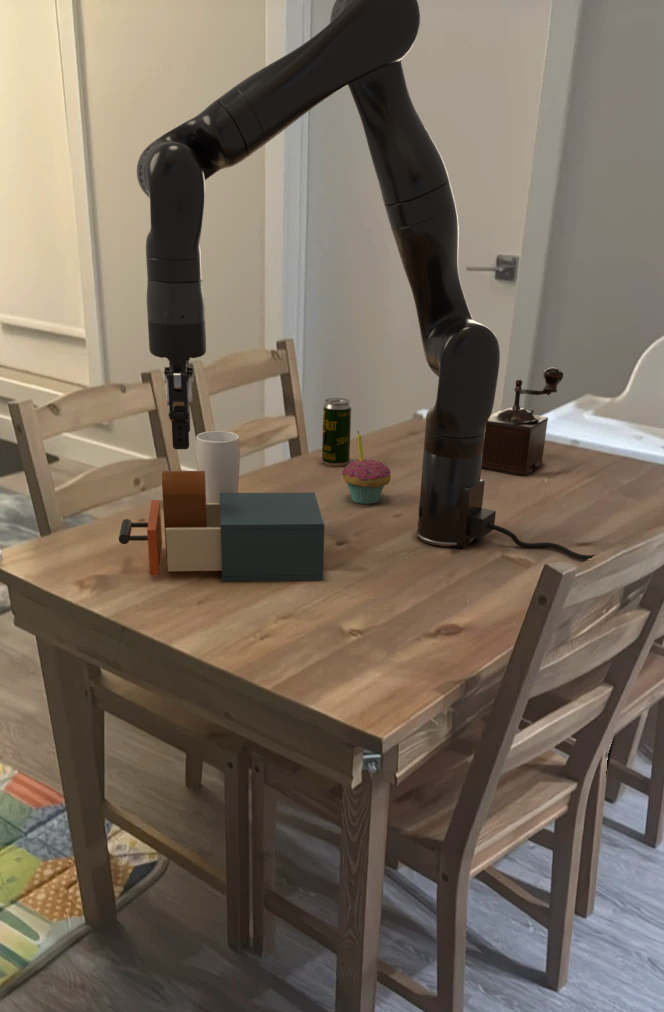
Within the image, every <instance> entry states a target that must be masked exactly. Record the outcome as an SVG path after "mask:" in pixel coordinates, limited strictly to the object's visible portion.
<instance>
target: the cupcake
mask: <svg viewBox="0 0 664 1012" xmlns="http://www.w3.org/2000/svg"><path fill="white" fill-rule="evenodd" d="M356 437H357V447H358V448H357V449H358V457H359V459H355V460H352V461H351V462H348V464H347V465H345V466H343V469H342V470H341V472H342V473H341V475H342V477H343V480H344V482H345V483H346V484H347V487H348V489H349V490H348V491H349V493H350V496H351V500H352V501H353V502H355V503H357V504H361V505H372V504H376V503H378V502H379V500H380V497H381V495H382V492H383V490H384V487H385V486H387V485H389V484H390V481H391V478H392V474H391V473H392V471H391V470H390V468H389V467H388V465H386V464H384V463H383V462H382V461H379V460H376V459H372V458H369V459H367V458H366V459H365V458H364V452H363V441H362V435H361V434H360V431H359V429H357V436H356Z"/></svg>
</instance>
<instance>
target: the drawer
mask: <svg viewBox="0 0 664 1012" xmlns="http://www.w3.org/2000/svg"><path fill="white" fill-rule="evenodd" d="M206 513H207V527H191V528H166V543H165V547H166V546H167V558H166V561H167V572H208V571H209V572H218V571H221V572H222V559H221V525H220V503H206ZM161 516H162V514H161V500H159V499H155V500H153V499H152V500H151V502H150V509H149V515H148V521H147V522H146V521H145V522H143V521H142V522H141V521H140V522H139V521H138V522H136V521H135V522H132V520H131V519H129V518H125V519H123V520H122V521H121V526H120V530H119V535H118V542H119V543H120V544H121V545H127V544H129V542H130V541H131V542H136V541H137V542H139V541H140V542H141V541H144V542H145V541H147V548H148V564H149V576H159V574H160V569H161V568H160V566H161V557H162V550H163V549H162V548H163V535H162V534H163V533H162V517H161ZM132 528H146V534H147V535H146V534H145V535H144V534H143V535H132V534H131V533H132Z"/></svg>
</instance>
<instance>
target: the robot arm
mask: <svg viewBox="0 0 664 1012" xmlns="http://www.w3.org/2000/svg"><path fill="white" fill-rule="evenodd" d="M420 12H421V11H420V6H419V2H418V0H335V1H334V3H333V6H332V8H331V12H330V19H329V23H328V24H327V26H325V27H324V28H323V29H322V30H320V31H319V32H318V33H316V35H314V36H312V37H311V38H310V39H309V40H307V41H306V42H305V43H303V44H301V45H299V47H297V48H295V49H294V50H292V51H290V52H289V53H287V54H286V55H284V56H282V57H280V58H277V60H275V61H273V62H271V63H270V64H268V65H267V66H264V67H263V68H261V69H259V70H258V71H256V72H255V73H253V74H251V75H249V76H248V77H246V78H245V79H243V80H241V82H239V83H237V84H235V86H233V87H232V88H230V89H229V90H228V91H226V92H225V93H224V94H223V95H221V96H219V97H218V98H217V99H215V100H214V101H212V102H211V103H210V104H209V105H208V106H206V108H204V109H203V110H202V111H201V112H200V113H198V114H197V115H195V116H194V117H192V118H190V119H188V120H187V121H185V122H183V123H181V124H180V125H178V126H176V127H174V128H172V129H171V130H169V131H167V132H166V133H164V134H163V135H161V136H159V137H158V138H156V139H155V140H153V141H152V142H151V143H150V144H149V145H148V146H146V147H145V149H143V150H142V152H141V154H140V156H139V158H138V160H137V165H136V178H137V182H138V185H139V187H140V189H141V190H142V192H143V193H144V195H145V196H146V197H147V198H148V199H149V203H150V204H149V208H150V210H149V211H150V230H149V232H148V233H147V235H146V239H145V260H146V261H145V262H146V263H145V264H146V278H147V279H146V282H147V283H146V284H147V285H146V313H147V331H148V348H149V352H150V354H151V355H153V356H154V357H156V358H162V359H163V358H166V360H168V363H169V364H168V365H169V366H164V369H163V382H164V385H165V400H166V405H167V406H168V408H169V412H168V418H169V420H170V422H171V439H172V447H173V449H174V450H188V449H189V448H190V432H191V414H190V407H191V406H192V405H193V394H194V384H195V383H194V381H195V370H194V369H195V368H194V366H193V367H191V366H190V359H196V358H197V359H198V358H201V357H203V356H204V355H205V354H206V353H207V334H206V332H207V330H206V301H205V300H206V299H205V293H204V286H203V266H202V265H203V263H202V249H201V248H202V247H201V239H202V238H201V237H202V231H203V224H204V223H203V222H204V214H205V213H204V212H205V204H206V203H205V202H206V180H208V179H209V178H211V177H212V176H214V175H215V174H216V173H218V172H219V171H221V170H224V169H227V168H232V167H235V166H236V165H239V163H241V162H243V161H244V160H245V159H247V158H249V157H250V156H252V154H255V152H257V151H258V150H260V149H261V148H262V147H264V146H265V145H266V144H268V143H269V142H271V140H273V139H274V138H275V137H277V136H278V135H279V134H281V133H282V132H283V131H285V130H286V129H288V127H290V126H291V125H293V124H294V123H295V122H297V120H300V118H301V117H303V116H304V115H305V114H307V113H308V112H309V111H311V110H312V109H313V108H315V107H316V106H317V105H319V104H320V103H322V102H324V101H325V100H326V99H328V98H329V97H331V96H332V95H334V94H335V93H337V92H339V91H340V90H342V89H343V88H345V87H347V86H348V88H349V91H350V94H351V96H352V99H353V101H354V105H355V107H356V109H357V112H358V116H359V117H360V122H361V124H362V127H363V131H364V135H365V139H366V144H367V147H368V150H369V154H370V158H371V161H372V165H373V169H374V172H375V176H376V179H377V182H378V187H379V191H380V194H381V199H382V203H383V205H384V208H385V209H384V210H385V212H386V217H387V220H388V223H389V226H390V229H391V232H392V233H391V234H392V236H393V238H394V239H393V240H394V242H395V245H396V248H397V251H398V254H399V257H400V261H401V264H402V267H403V270H404V272H405V275H406V278H407V281H408V284H409V286H410V290H411V294H412V297H413V301H414V306H415V310H416V316H417V320H418V326H419V331H420V337H421V342H422V343H421V344H422V348H423V353H424V357H425V361H426V363H427V365H428V367H429V368H430V370H431V372H433V374H435V376H437V378H438V382H437V390H436V391H437V392H436V400H435V403H434V405H433V407H431V408H429V409H428V410H427V413H426V417H425V429H424V441H423V456H422V468H421V480H420V492H419V493H420V494H419V504H418V507H417V508H418V509H417V511H418V517H417V529H416V538H418V540H420V541H421V542H423V543H426V544H428V545H433V546H438V547H443V548H444V547H445V548H460V549H465V548H466V547H467V546H469V545H470V544H471V543H473V542H474V541H476V540H477V539H478V540H479V539H480V540H481V539H483V538H484V537H486V536H487V535H488V534H490V533H491V532H493V531H496V532H499V533H501V534H503V535H506V536H508V537H509V538H511V540H512V541H513V542H514V543H515V545H517V546H519V547H521V548H525V549H541V548H548V549H549V548H550V549H553V550H556V551H557V550H558V551H561V552H562V553H563V554H566V555H567V556H570V557H571V558H574V559H578V560H581V561H582V560H583V561H588V560H587V559H589V558H592V557H593V556H595V555H596V554H582V553H578V552H575V551H573V550H571V549H569V548H567V547H566V546H563V545H560V544H558V543H553V542H533V543H532V542H531V543H530V542H525V541H521V540H520V539H519V538H518V537H517V535H516V534H515V533H514V532H512V531H510V529H509V530H508V529H506V528H504V527H501V526H499V525H497V524H495V523H496V513H497V511H496V510H494V509H489V508H484V507H483V503H484V493H485V485H486V484H485V483H486V482H485V480H484V479H482V478H481V476H482V469H483V468H482V458H483V449H484V440H485V432H486V424H487V421H488V419H489V417H490V416H491V415H492V414H493V413H492V412H493V411H494V410H493V409H494V405H495V398H496V391H497V385H498V378H499V370H500V363H501V362H500V361H501V350H500V344H499V340H498V338H497V336H496V334H495V333H494V332H493V331H492V330H491V329H490V328H489V327H487V326H486V325H484V324H482V323H481V322H477V321H476V320H474V319H473V316H472V313H471V311H470V308H469V305H468V303H467V301H466V300H467V299H466V296H465V294H464V289H463V287H462V284H461V279H460V272H459V242H460V241H459V233H460V232H459V231H460V229H459V217H458V210H457V206H456V205H457V204H456V201H455V197H454V193H453V188H452V185H451V182H450V177H449V173H448V170H447V168H446V164H445V162H444V160H443V157H442V155H441V153H440V152H439V149H438V148H437V146H436V144H435V142H434V141H433V138H432V137H431V135H430V134H429V133H430V132H429V131H428V130H427V128H426V126H425V125H424V122H423V121H422V120H421V117H420V116H419V114H418V112H417V110H416V108H415V106H414V104H413V101H412V99H411V96H410V93H409V89H408V86H407V82H406V77H405V73H404V69H403V63H402V59H404V58H405V57H406V56H407V55H408V53H409V52H410V51H411V50H412V48H413V46H414V44H415V42H416V40H417V37H418V34H419V31H420V25H421V13H420ZM615 739H616V735H615V736H614V738H613V741H612V744H611V747H610V750H609V753H608V760H607V771H606V778H607V776H608V771H609V766H610V761H611V756H612V751H613V747H614V744H615V743H614V742H615Z"/></svg>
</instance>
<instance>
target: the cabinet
mask: <svg viewBox="0 0 664 1012" xmlns="http://www.w3.org/2000/svg"><path fill="white" fill-rule="evenodd" d="M220 525H221V559H222V571H221V581H222V582H224V583H226V582H228V583H229V582H230V583H231V582H233V583H234V582H292V581H293V582H296V581H297V582H300V581H303V582H304V581H323V580H324V559H325V558H324V557H325V556H324V553H325V552H324V551H325V522H324V518H323V515H322V511H321V508H320V505H319V500H318V498H317V495H316V491H315V492H238V493H220Z"/></svg>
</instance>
